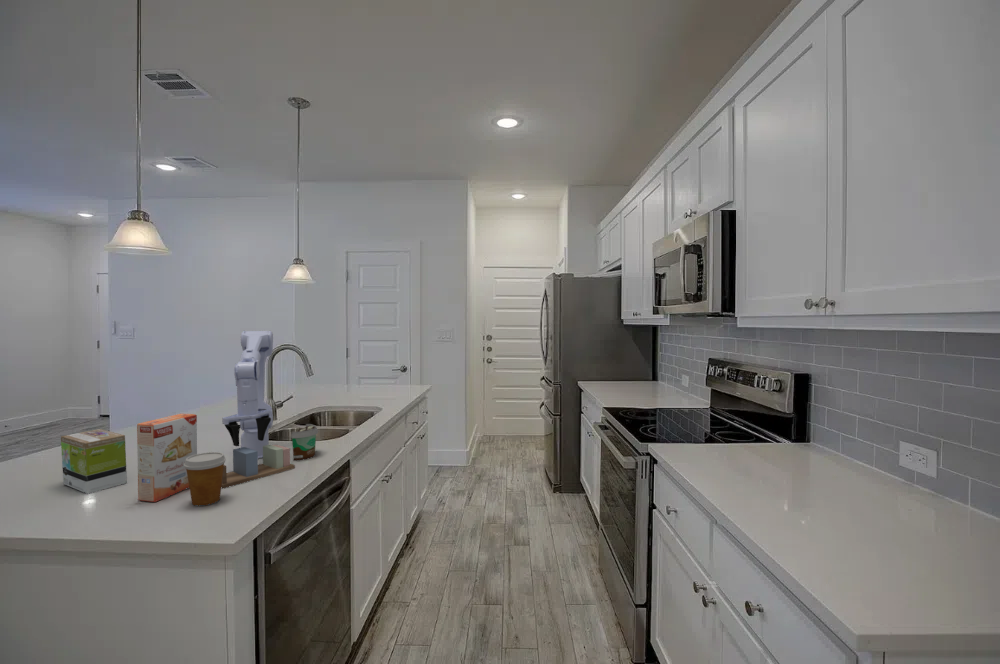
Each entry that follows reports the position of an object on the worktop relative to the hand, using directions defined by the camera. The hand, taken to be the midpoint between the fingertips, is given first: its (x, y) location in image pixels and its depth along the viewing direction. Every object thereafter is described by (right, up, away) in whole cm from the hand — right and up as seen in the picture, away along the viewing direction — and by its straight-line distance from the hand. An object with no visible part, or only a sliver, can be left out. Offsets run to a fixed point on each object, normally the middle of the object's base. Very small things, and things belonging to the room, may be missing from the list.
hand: (248, 442), depth 150 cm
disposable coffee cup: (+1, -10, -23) cm, 25 cm away
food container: (+12, -9, +17) cm, 22 cm away
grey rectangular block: (+1, -8, -3) cm, 9 cm away
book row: (+7, -8, +4) cm, 11 cm away
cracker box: (-13, -10, -17) cm, 24 cm away
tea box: (-39, -10, -10) cm, 42 cm away
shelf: (+2, -9, -2) cm, 10 cm away
